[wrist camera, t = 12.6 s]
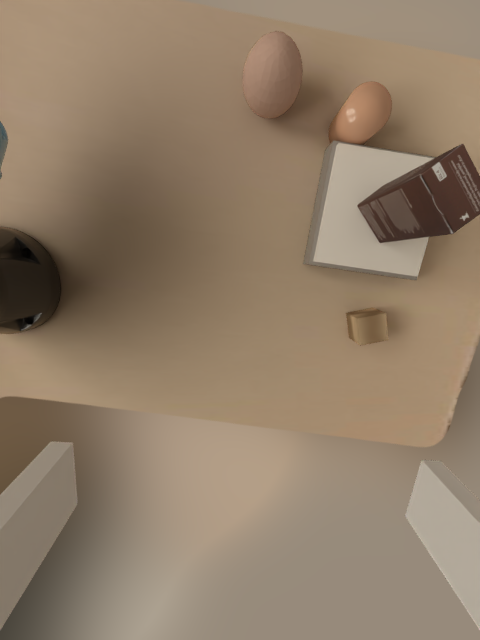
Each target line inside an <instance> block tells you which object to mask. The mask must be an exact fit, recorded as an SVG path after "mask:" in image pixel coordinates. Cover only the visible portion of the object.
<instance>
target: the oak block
mask: <svg viewBox="0 0 480 640" xmlns="http://www.w3.org/2000/svg"><path fill="white" fill-rule="evenodd" d="M346 316H347V324H348V333H349V338H350V339H352V340H353V341H355V342H356V343H357V344H359V345H366V344H371V343H376V342H381V341H386V340H388V331H387V318H386V313H385V312H382V311H380V310H377V309H374V308H369V309H364V310H358V311H353V312H348V313H346Z"/></svg>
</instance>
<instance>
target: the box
mask: <svg viewBox="0 0 480 640" xmlns="http://www.w3.org/2000/svg"><path fill="white" fill-rule="evenodd" d="M357 207H358V208H359V210H360V212H361V213H362V215H363V217H364V218H365V220H366V221H367V223H368V225H369V226H370V228H371V230H372V231H373V233H374V234H375V236H376V238H377V239H378V241H379V243H385V242H393V241H401V240H408V239H416V238H424V237H431V236H439V235H447V234H453V233H454V232H456V231H457V230H458V229H460V228H461V227H462V226H464V225H465V224H467V223H468V222H469V221H471V220H472V219H474V218H475V217H476V216H478V215H479V214H480V176H479V174H478V172H477V170H476V168H475V166H474V164H473V162H472V160H471V158H470V156H469V155H468V153H467V151H466V149H465V146H464V144H461V145H459V146H457V147H455V148H453V149H451V150H449V151H448V152H446V153H444V154H442V155H440V156H438V157H436V158H434V159H432V160H430V161H428V162H427V163H425V164H423V165H421V166H419V167H417V168H415V169H413V170H411V171H409V172H408V173H406V174H404V175H402V176H400V177H398V178H397V179H395V180H393V181H391V182H389V183H387V184H385V185H383V186H382V187H380V188H379V189H378V190H376V191H375V192H374V193H373V194H371V195H370V196H369V197H367V198H366V199H365V200H363V201H362V202H360V203H359V204H358V205H357Z"/></svg>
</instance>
